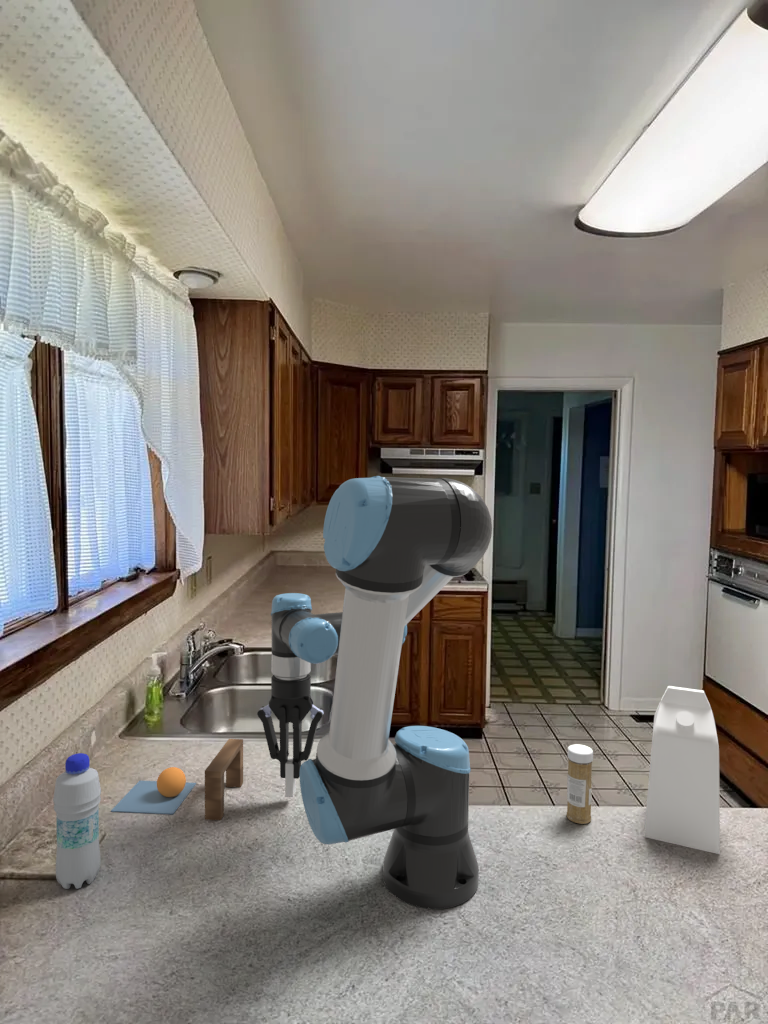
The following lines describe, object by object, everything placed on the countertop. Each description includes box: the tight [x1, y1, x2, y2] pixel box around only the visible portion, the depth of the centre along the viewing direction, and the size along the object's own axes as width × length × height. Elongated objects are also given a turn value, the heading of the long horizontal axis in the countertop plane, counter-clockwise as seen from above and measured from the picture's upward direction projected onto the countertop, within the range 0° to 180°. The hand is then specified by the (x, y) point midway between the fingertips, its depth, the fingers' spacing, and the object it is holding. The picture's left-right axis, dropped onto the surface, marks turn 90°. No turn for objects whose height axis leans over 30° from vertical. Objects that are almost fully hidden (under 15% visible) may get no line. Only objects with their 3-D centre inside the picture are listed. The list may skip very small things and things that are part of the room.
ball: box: [156, 766, 187, 797], centre depth 124 cm, size 6×6×6 cm
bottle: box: [52, 752, 102, 890], centre depth 98 cm, size 7×7×20 cm
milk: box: [643, 685, 721, 855], centre depth 114 cm, size 12×12×26 cm
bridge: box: [204, 738, 244, 821], centre depth 123 cm, size 3×14×9 cm, turn 176°
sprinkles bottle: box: [566, 743, 594, 825], centre depth 118 cm, size 5×5×13 cm
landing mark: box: [110, 779, 197, 815], centre depth 124 cm, size 12×12×1 cm
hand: (290, 793), depth 122 cm, fingers closed
